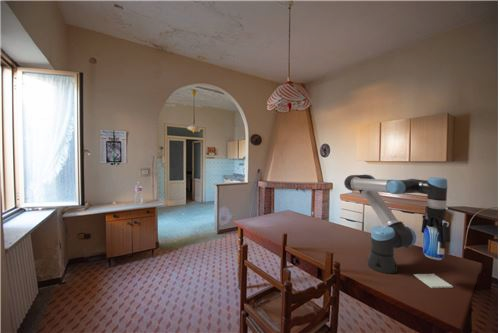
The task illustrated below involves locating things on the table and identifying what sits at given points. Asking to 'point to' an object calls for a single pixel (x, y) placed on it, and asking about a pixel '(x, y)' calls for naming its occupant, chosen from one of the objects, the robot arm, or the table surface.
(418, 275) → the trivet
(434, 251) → the beer can
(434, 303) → the table surface
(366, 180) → the robot arm
